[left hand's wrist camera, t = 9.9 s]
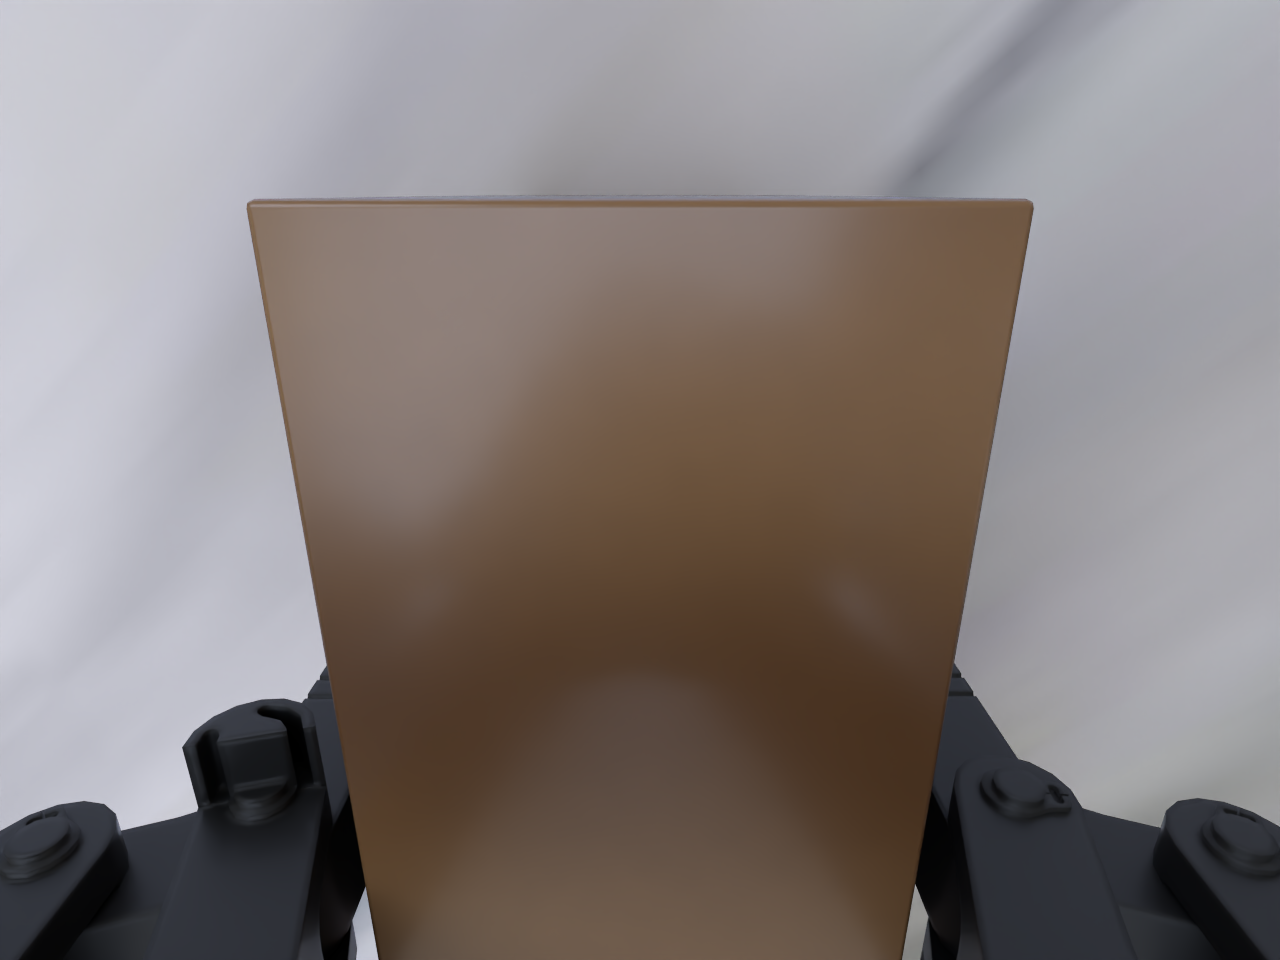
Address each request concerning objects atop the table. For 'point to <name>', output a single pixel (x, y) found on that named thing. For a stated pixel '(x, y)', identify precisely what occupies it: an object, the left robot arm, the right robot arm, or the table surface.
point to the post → (640, 552)
